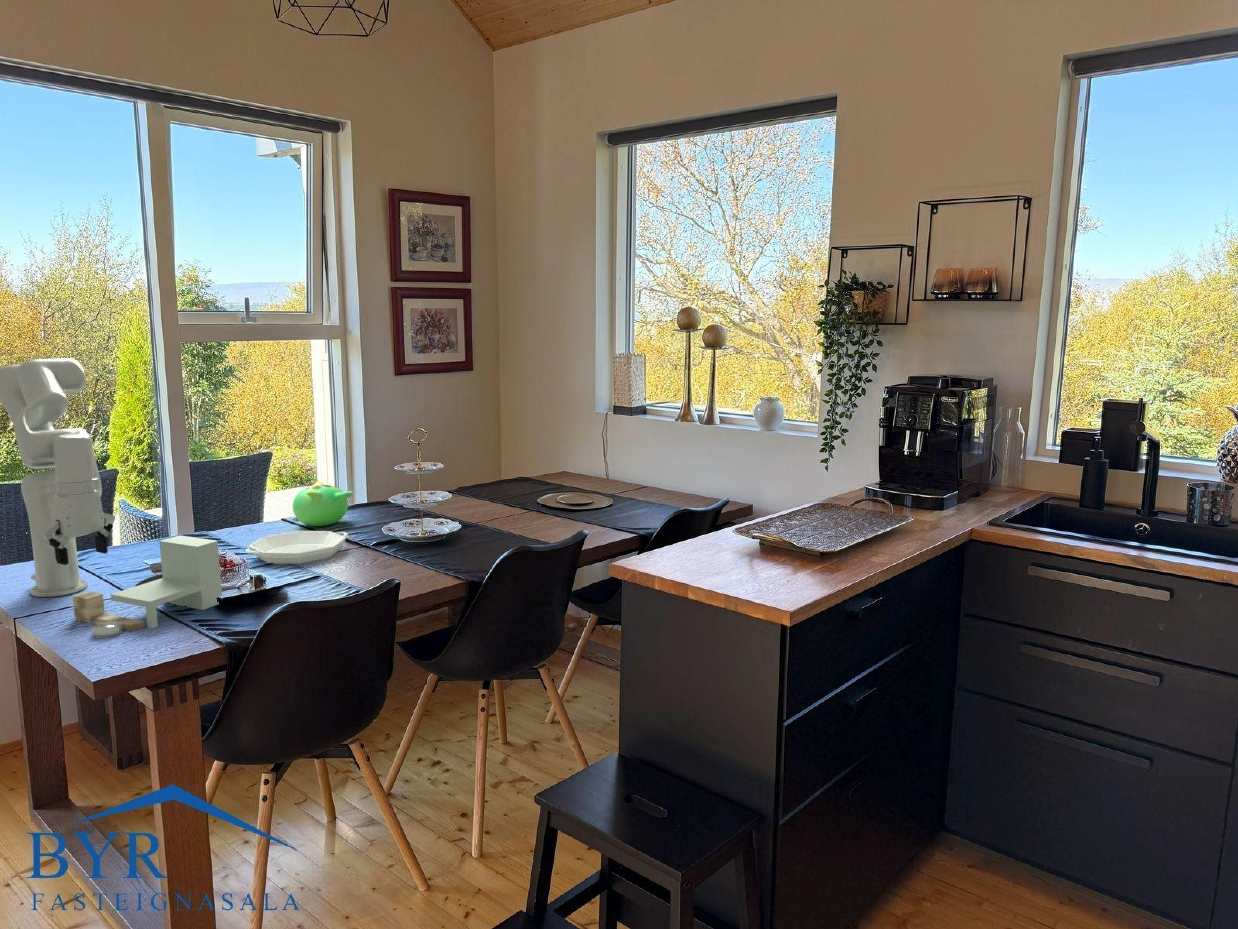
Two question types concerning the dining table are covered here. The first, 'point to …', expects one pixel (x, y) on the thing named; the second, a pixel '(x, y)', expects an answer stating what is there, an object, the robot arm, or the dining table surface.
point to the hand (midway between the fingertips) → (82, 558)
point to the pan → (297, 547)
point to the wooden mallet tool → (99, 611)
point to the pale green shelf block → (180, 578)
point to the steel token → (107, 629)
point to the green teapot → (321, 504)
